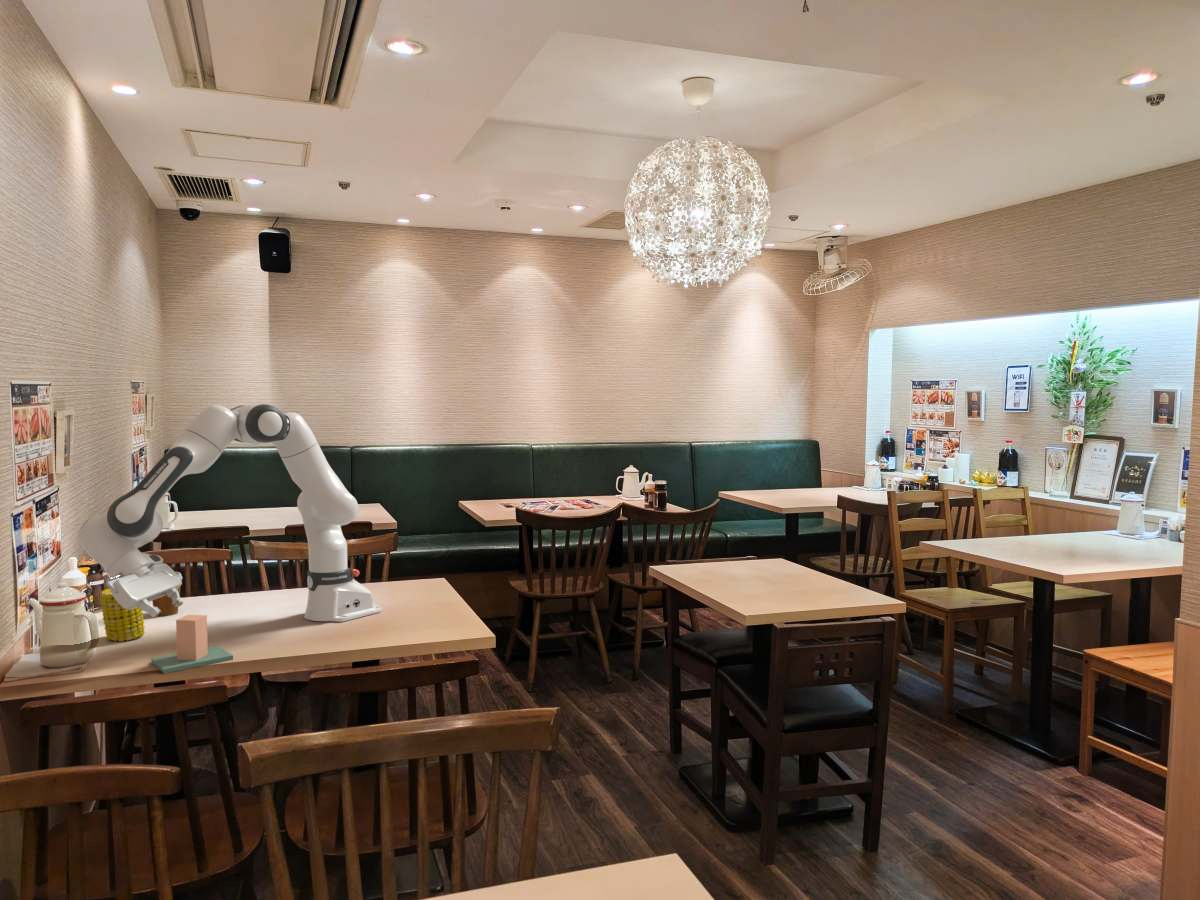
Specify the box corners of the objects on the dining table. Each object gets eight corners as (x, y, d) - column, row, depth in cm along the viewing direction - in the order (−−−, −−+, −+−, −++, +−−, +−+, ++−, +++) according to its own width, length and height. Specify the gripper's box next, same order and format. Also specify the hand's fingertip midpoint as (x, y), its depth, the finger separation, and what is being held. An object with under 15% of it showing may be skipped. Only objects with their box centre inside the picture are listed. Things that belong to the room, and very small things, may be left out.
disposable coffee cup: (183, 615, 252) (182, 576, 251) (147, 619, 248) (146, 579, 247) (184, 608, 260) (182, 570, 260) (149, 611, 256) (148, 573, 255)
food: (151, 640, 231) (115, 652, 223) (126, 625, 237) (90, 636, 228) (155, 590, 228) (118, 599, 219) (129, 576, 233) (93, 584, 225)
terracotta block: (189, 653, 212) (187, 614, 212) (207, 654, 212) (206, 615, 211) (177, 659, 207) (176, 620, 207) (196, 660, 207) (195, 620, 206)
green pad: (218, 649, 219) (218, 645, 219) (233, 659, 211) (232, 655, 211) (151, 662, 208) (151, 658, 208) (164, 673, 200) (163, 669, 200)
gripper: (111, 570, 199) (151, 611, 198) (163, 554, 219) (200, 591, 219) (94, 588, 199) (134, 629, 199) (148, 570, 220) (184, 608, 219)
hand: (169, 609), depth 209 cm, fingers open, 8 cm apart
